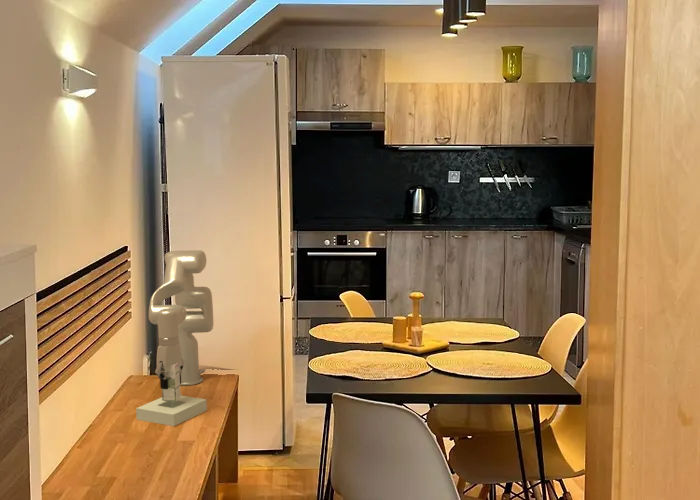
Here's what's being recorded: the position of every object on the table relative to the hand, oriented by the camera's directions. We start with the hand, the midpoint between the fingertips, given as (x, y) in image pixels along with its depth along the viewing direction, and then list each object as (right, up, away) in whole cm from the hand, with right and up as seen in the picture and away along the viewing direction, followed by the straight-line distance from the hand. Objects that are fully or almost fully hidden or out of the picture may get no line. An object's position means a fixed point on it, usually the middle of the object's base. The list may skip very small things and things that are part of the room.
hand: (171, 385), depth 314 cm
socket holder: (0, -11, +1) cm, 12 cm away
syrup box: (0, -5, +1) cm, 6 cm away
